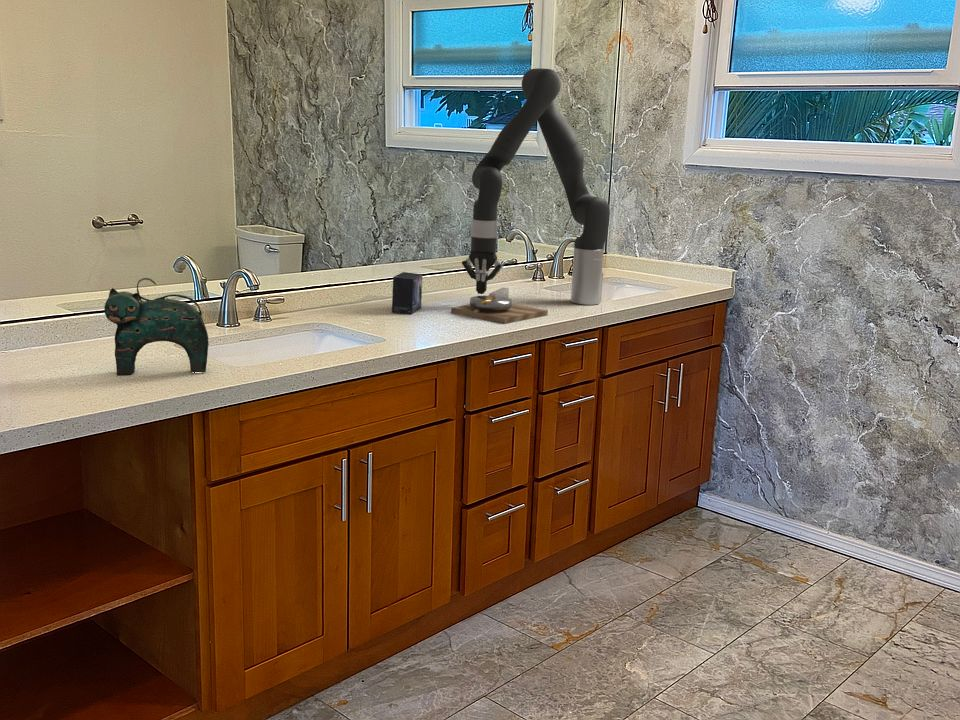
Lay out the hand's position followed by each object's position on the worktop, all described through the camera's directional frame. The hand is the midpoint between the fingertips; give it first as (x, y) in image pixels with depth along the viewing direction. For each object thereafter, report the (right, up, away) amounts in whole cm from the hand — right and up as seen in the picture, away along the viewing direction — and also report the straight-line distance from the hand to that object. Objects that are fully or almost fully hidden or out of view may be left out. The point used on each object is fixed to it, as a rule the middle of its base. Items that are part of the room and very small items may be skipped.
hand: (481, 293), depth 285 cm
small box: (-22, -6, -9) cm, 24 cm away
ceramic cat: (-67, -23, -86) cm, 111 cm away
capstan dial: (+4, -4, -7) cm, 9 cm away
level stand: (+5, -6, -8) cm, 11 cm away
